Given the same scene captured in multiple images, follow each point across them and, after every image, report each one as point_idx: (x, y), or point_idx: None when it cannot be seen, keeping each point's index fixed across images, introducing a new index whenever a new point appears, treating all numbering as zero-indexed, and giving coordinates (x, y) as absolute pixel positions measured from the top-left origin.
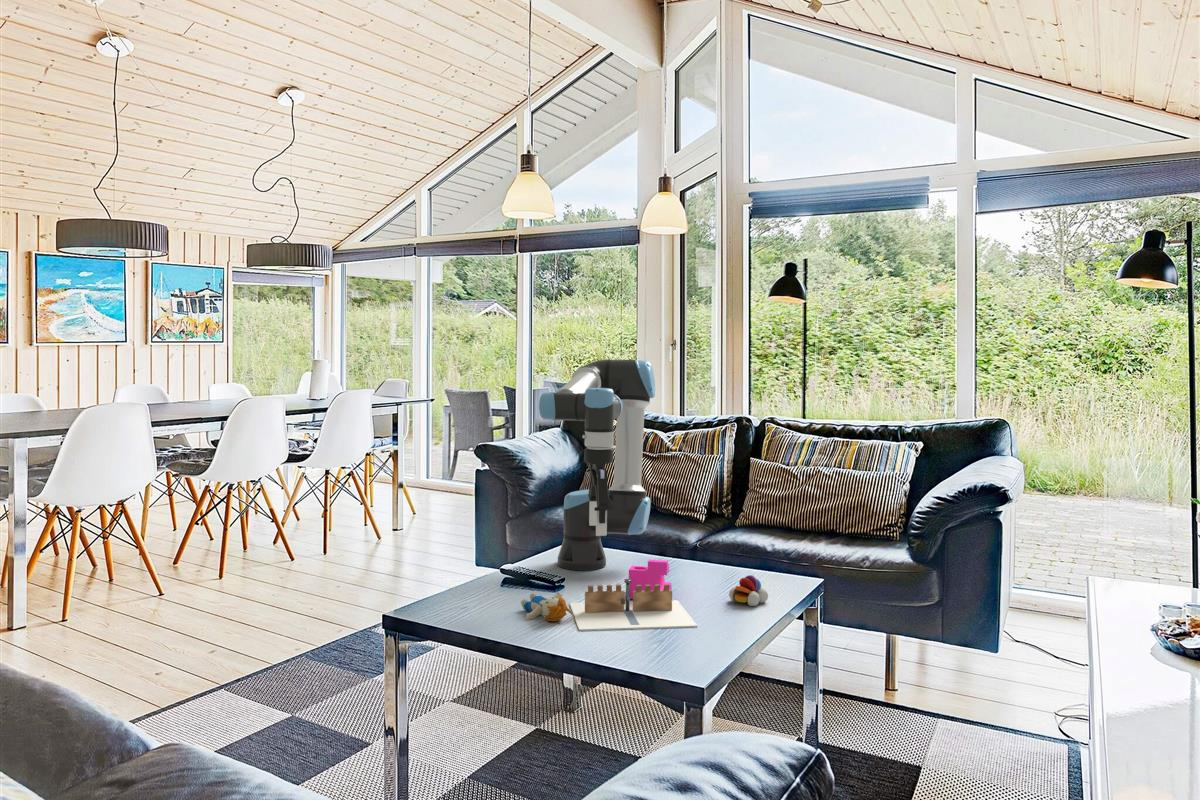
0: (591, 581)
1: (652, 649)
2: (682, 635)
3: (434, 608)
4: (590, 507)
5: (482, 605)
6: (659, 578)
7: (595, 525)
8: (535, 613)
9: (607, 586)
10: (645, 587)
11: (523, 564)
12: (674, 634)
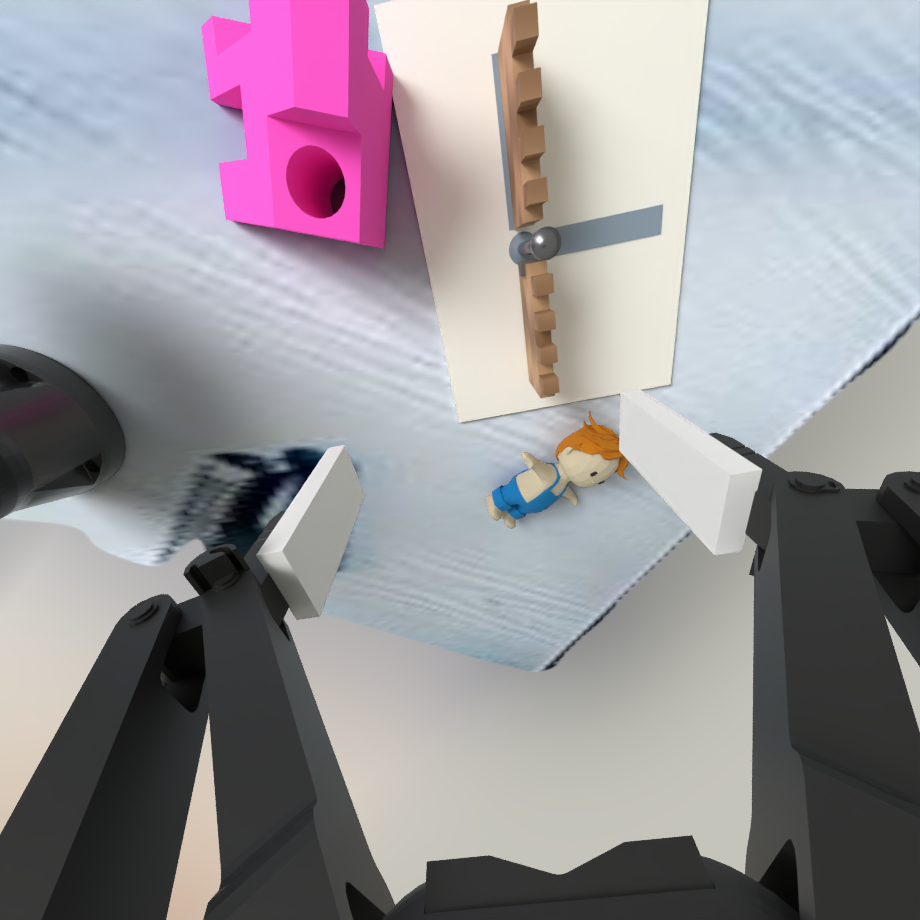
0: (217, 380)
1: (875, 157)
2: (787, 15)
3: (500, 636)
4: (331, 572)
5: (478, 579)
6: (372, 69)
7: (353, 466)
8: (570, 489)
9: (555, 328)
10: (524, 159)
11: (134, 556)
12: (767, 55)
